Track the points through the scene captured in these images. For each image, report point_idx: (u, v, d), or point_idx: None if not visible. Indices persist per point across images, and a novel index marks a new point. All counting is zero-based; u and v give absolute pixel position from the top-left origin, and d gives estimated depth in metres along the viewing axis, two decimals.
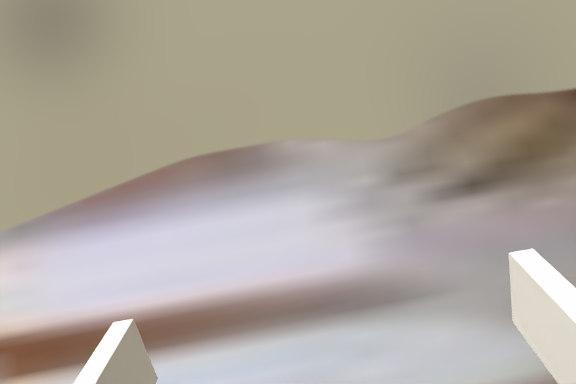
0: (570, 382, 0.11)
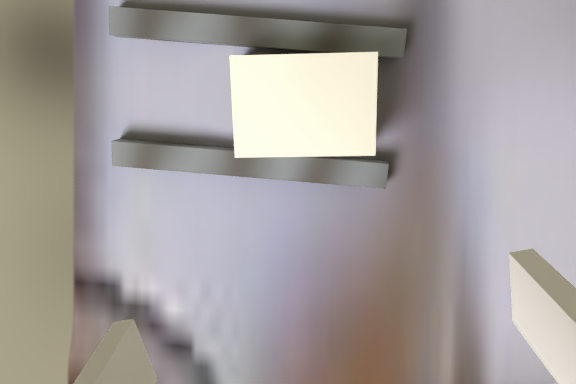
0: (570, 382, 0.11)
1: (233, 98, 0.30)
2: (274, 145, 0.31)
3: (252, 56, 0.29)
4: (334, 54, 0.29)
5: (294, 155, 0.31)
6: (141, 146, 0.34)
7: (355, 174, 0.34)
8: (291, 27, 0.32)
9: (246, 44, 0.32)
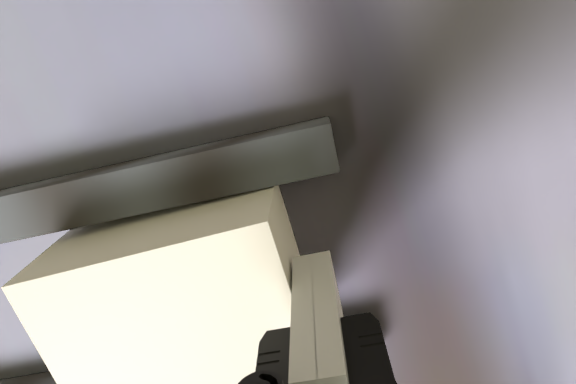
0: None
1: (40, 349, 0.16)
2: None
3: (41, 280, 0.15)
4: (187, 244, 0.15)
5: None
6: None
7: None
8: (129, 181, 0.18)
9: (68, 227, 0.18)
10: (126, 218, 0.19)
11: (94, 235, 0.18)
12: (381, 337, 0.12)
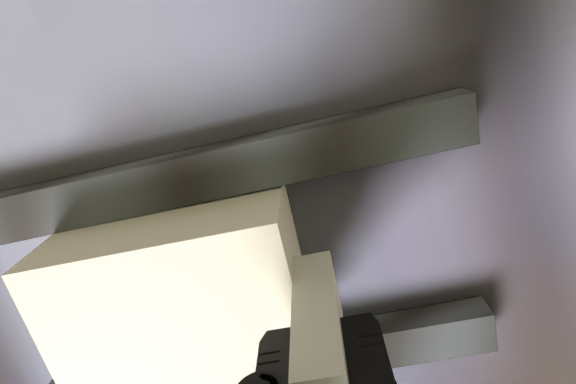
0: None
1: (37, 340, 0.16)
2: None
3: (42, 270, 0.15)
4: (194, 241, 0.15)
5: None
6: None
7: (440, 343, 0.20)
8: (259, 154, 0.17)
9: (191, 203, 0.18)
10: None
11: (96, 227, 0.18)
12: (381, 337, 0.12)
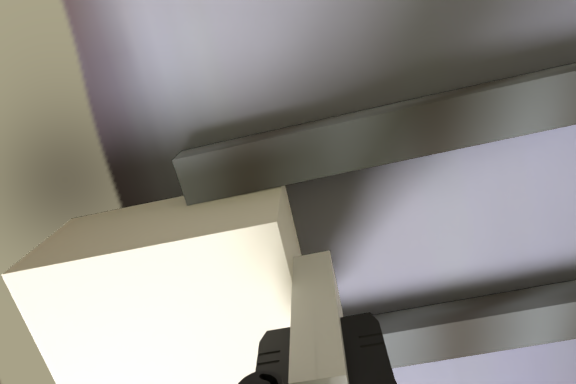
0: None
1: (37, 339, 0.16)
2: None
3: (42, 269, 0.15)
4: (193, 240, 0.15)
5: None
6: None
7: None
8: (522, 97, 0.16)
9: (438, 151, 0.17)
10: (129, 210, 0.19)
11: (96, 226, 0.18)
12: (381, 337, 0.12)
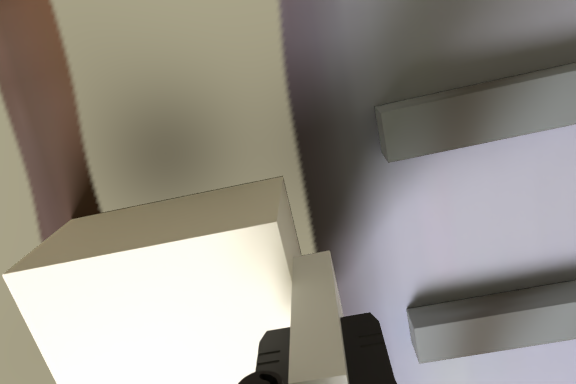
0: None
1: (37, 339, 0.16)
2: None
3: (43, 269, 0.15)
4: (194, 240, 0.15)
5: None
6: (468, 324, 0.19)
7: None
8: None
9: None
10: (129, 210, 0.19)
11: (97, 226, 0.18)
12: (381, 337, 0.12)
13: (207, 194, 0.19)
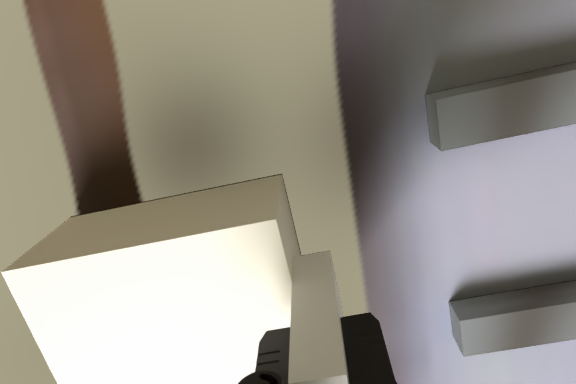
0: None
1: (37, 336, 0.16)
2: None
3: (42, 267, 0.15)
4: (193, 237, 0.15)
5: None
6: (514, 316, 0.19)
7: None
8: None
9: None
10: (129, 208, 0.19)
11: (96, 224, 0.18)
12: (381, 337, 0.12)
13: (206, 191, 0.19)
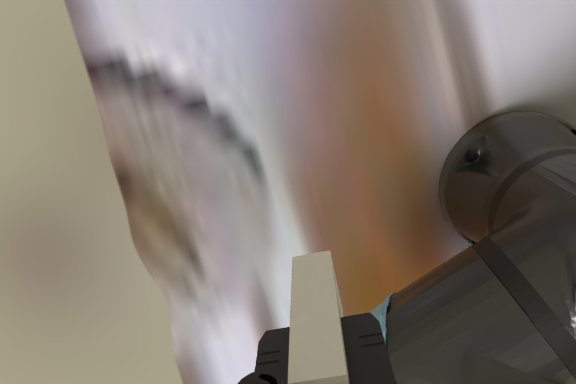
0: None
1: None
2: None
3: None
4: None
5: None
6: None
7: None
8: None
9: None
10: None
11: None
12: (381, 337, 0.12)
13: None
